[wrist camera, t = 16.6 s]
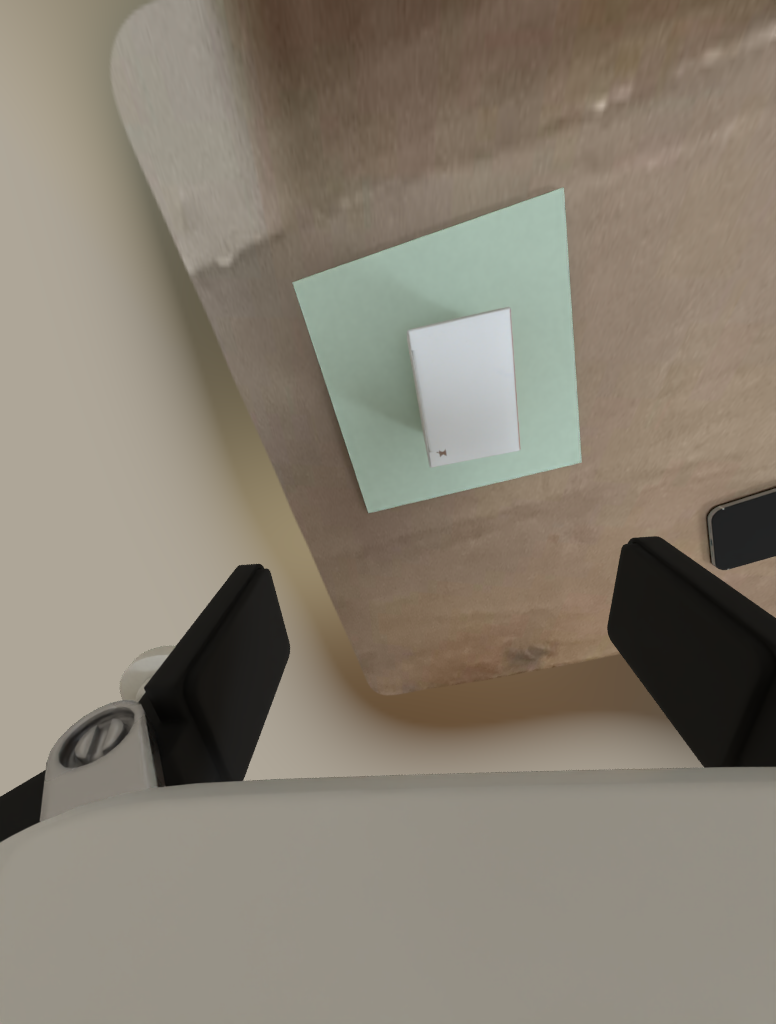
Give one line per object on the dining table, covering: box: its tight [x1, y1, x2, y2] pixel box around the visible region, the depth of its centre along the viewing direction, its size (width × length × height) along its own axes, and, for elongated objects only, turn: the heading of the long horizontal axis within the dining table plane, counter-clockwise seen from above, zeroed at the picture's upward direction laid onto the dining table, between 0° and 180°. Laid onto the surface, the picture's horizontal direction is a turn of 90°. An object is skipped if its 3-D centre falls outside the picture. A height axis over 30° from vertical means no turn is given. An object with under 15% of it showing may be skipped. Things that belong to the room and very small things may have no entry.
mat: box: [293, 188, 582, 513], centre depth 30 cm, size 20×20×1 cm
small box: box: [407, 307, 521, 468], centre depth 25 cm, size 8×6×10 cm
